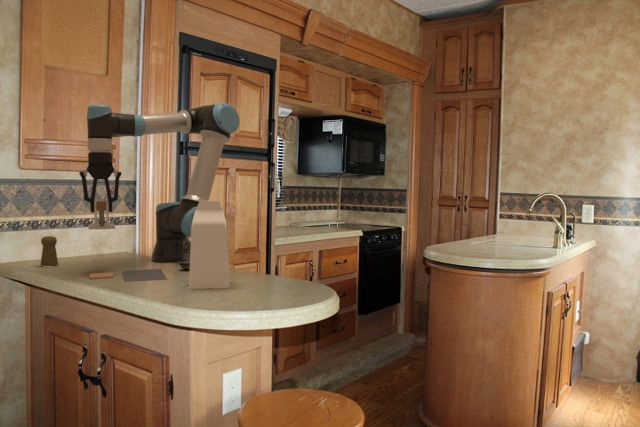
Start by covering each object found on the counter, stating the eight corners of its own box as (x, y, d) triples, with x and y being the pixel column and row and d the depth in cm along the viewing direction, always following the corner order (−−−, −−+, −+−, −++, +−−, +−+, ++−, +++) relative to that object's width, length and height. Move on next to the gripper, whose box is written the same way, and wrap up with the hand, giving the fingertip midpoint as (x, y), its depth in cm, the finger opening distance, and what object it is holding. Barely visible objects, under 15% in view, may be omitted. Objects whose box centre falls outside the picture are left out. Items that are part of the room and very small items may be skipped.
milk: (188, 289, 162) (188, 201, 160) (190, 282, 173) (190, 200, 172) (229, 288, 164) (230, 201, 163) (228, 281, 175) (228, 200, 174)
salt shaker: (198, 270, 195) (198, 237, 195) (192, 273, 189) (192, 238, 189) (182, 270, 196) (182, 236, 195) (176, 272, 190) (175, 238, 189)
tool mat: (160, 270, 194) (160, 268, 194) (167, 281, 174) (167, 279, 174) (121, 272, 189) (121, 270, 189) (124, 283, 169) (124, 281, 169)
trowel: (89, 225, 190) (89, 200, 190) (114, 225, 193) (113, 200, 193) (88, 229, 177) (87, 202, 176) (114, 228, 180) (114, 202, 179)
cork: (53, 267, 199) (52, 237, 198) (36, 267, 199) (36, 237, 198) (61, 264, 205) (61, 235, 204) (45, 264, 205) (45, 235, 204)
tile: (112, 272, 183) (113, 276, 175) (112, 277, 183) (113, 281, 175) (90, 273, 180) (89, 277, 173) (90, 278, 180) (89, 282, 173)
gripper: (125, 152, 189) (126, 220, 190) (74, 151, 183) (76, 221, 185) (126, 152, 182) (127, 222, 183) (73, 150, 176) (75, 223, 178)
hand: (101, 221), depth 184 cm, fingers closed on trowel, 3 cm apart
